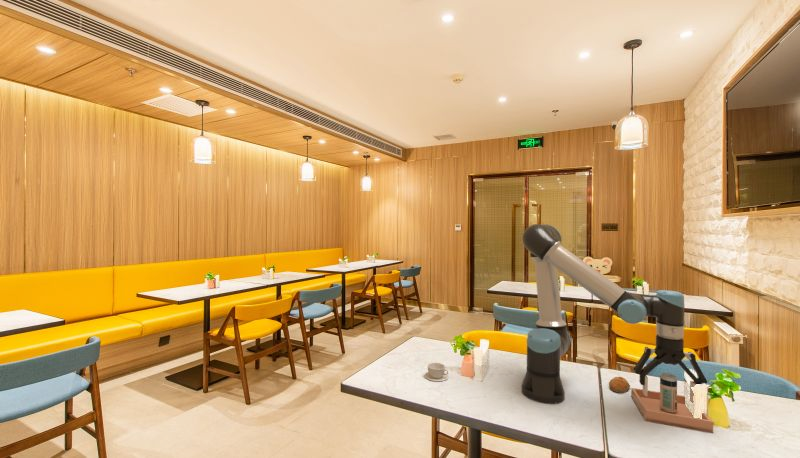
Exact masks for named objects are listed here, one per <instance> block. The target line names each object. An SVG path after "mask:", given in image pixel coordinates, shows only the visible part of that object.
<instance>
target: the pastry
mask: <svg viewBox="0 0 800 458" xmlns="http://www.w3.org/2000/svg"><path fill="white" fill-rule="evenodd" d="M608 386H609V389H610V390H611V391H612V392H615V393H620V394H622V393H627V391H628V390H629V389H630V388H631V384H630V383H629V382H628V380H627V379H626V378H624V377H623V376H615V377H613V378H612V379H610V380H609V382H608Z"/></svg>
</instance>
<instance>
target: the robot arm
mask: <svg viewBox="0 0 800 458" xmlns="http://www.w3.org/2000/svg"><path fill="white" fill-rule="evenodd" d="M523 231H524V232H523V234H522V237H521V241H522V244H523V247H524V248H525V249H526V250H527V251H528V252H529V256H530V257H529V258H530V259H531V260H533V262H534V270H535V281H536V282H535V283H536V293H537V304H538V316H539V317H538V320H537V321H535V326H536V328H533V329H531V330H530V331H528V333H527V335H526V336H527V337H526V372H525V374H524V377H523V380H522V383H521V394H523V395H524V396H525V397H526V398H527V399H529V400H532V401H535V402H537V403H543V404H550V405H551V404H552V405H553V404H560V403H563V402H564V400H566V399H565V396H566V395H565V394H566V392H565V388H564V386H563V383H562V378H561V358H562V357H563V355H565V354H566V353H567V352H568V351H569V349H570V346H571V343H572V339H571V335H570V333H569V331H568V327H567V326H568V325H567V322H566V321H565V320H563V317H562V305H561V295H560V293H561V292H560V283H559V272H558V270H559V271H561V273H563V274H564V275H566V276H567V277H568V278H570V279H571V280H573V282H575V283H577V284H578V285H579V286H580V287H582V288H583V289H585V290H586V291H588V293H591V295H593V296H594V297H595V298H597V299H598V300H599V301H601V302H602V303H603V304H605V305H606V306H608V307H609V308H610V309H611V310H612V311H614V312H616V313H617V314H618V317H620V319H621V320H622V321H623V322H625V323H627V324H632V325H634V324H639V323H641V322H642V321H644V320H645V318H646V317H651V318H656V320H655V333H656V335H655V348H650V347H648V346H645V347H644V349H643V354H641V357H640V358H639V360H637V363H636V364H635V365H634V367H633V371H634V373H635V374H637V375H639V380H638V381H639V384H640V385H641V386H642V389H643V394H644V395H645V396H648V388H649V386H648V385H649V377H648V376H647V375H649V373H650V372H652V371H653V370H654V369H655V368H656V367H658V365H661V364H662V363H663V364H664V365H665V364H666V365H673V366H676V365H679V367H681V368H682V369H683V371H684V372H685V373H686V374H687V375H688V377H689V378H691V380H689V397H690V401H691V402H692V403H693V402H694V401H693V396H694V393H693V391H692V389H691V387H694V386H695V385H696V384H701V385H702V384H707V383H708V380H707V378H706V377H705V374H704V372H703V371H702V369H701V368H700V366H699V364H698V362H697V359H696V358H697V357H696V354H694V353H693V352H692V351H688V352H684V343H685V342H684V341H685V340H684V339H683V338H684V337H685V336H684V335H685V333H684V332H685V330H684V329H685V325H684V324H685V296H684V294H683V293H681V292H680V291H676V290H668V289H667V290H665V289H663V290H662V289H659V290H657V291H656V294H654V295H653V294H644V293H643V294H642V293H636V292H635V293H633V292H629V291H626V290H625V289H624V288H622V287H621V286H619V285H618V284H617V283H615V282H614V281H612V280H611V279H609V278H608V277H606V276H605V275H604V274H602V272H599V271H598V270H597V269H595V268H594V267H593V266H591V265H589V264H588V263H587V262H585V261H584V260H583V259H581V258H580V257H578V256H577V255H575V254H574V253H572V252H571V251H569V250H568V249H566V248H565V247H564V246H562V235H561V233H560V231H559V230H558V229H557V228H555V227H554V226H552V225H550V224H538V223H537V224H532V225H531V224H530V226H527V228H526V229H525V230H523ZM653 354H654V355H655V356H654V357H653V359H652V360H650V362H649V363H647V362H648V361H649V359H650V358H651V356H652V355H653ZM684 358H686V359H687V360H689V362H690V365H691V366H692V368H693V371H694V372H695V374H696V375H695V374H694V373H693V372H692V371H691V370H690V369H689V368H688V367H687V366H686V364H685V363H684V362H683V361H682V360H683V359H684ZM646 363H647V364H646Z"/></svg>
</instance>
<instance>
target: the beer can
mask: <svg viewBox="0 0 800 458" xmlns="http://www.w3.org/2000/svg"><path fill="white" fill-rule="evenodd" d="M659 379H660V380H659V392H660V408H661V409H662V410H663V411H665V412H668V413H675V412H677V395H678V378H677V377H676V376H675V375H674V374H671V373H666V372H663V373H662V372H661V374H660V375H659Z"/></svg>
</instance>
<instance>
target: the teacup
mask: <svg viewBox="0 0 800 458" xmlns="http://www.w3.org/2000/svg"><path fill="white" fill-rule="evenodd" d="M445 372H446V373H445ZM448 374H449V370H448V369H447V368H446V365H445V364H443V363H441V362H430V363H428V364H427V371H426V372H425V373H424V375H423V376H424V378H425V379H426V380H429V381H432V382H443V381H446V380H448V379H449V375H448Z"/></svg>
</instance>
